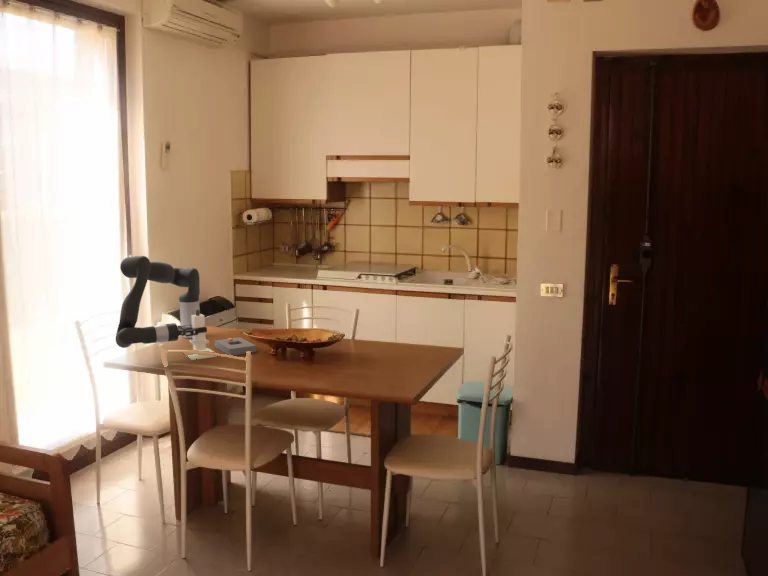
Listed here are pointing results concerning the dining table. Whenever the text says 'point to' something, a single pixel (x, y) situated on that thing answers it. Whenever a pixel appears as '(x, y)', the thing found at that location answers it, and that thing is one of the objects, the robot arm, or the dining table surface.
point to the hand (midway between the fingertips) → (204, 328)
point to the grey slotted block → (235, 346)
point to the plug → (200, 339)
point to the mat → (196, 356)
